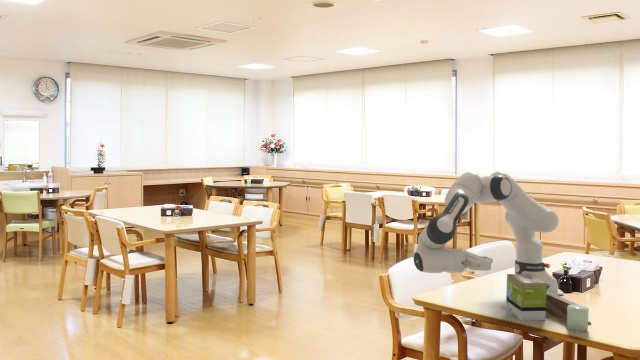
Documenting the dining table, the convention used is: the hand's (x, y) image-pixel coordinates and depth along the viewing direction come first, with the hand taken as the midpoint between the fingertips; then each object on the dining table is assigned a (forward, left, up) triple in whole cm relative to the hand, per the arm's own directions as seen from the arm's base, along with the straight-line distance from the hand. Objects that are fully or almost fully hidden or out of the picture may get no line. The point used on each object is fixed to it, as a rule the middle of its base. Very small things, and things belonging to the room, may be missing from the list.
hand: (489, 259), depth 222 cm
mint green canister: (-25, +19, -22) cm, 38 cm away
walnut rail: (-31, +3, -22) cm, 38 cm away
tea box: (-16, 0, -22) cm, 27 cm away
